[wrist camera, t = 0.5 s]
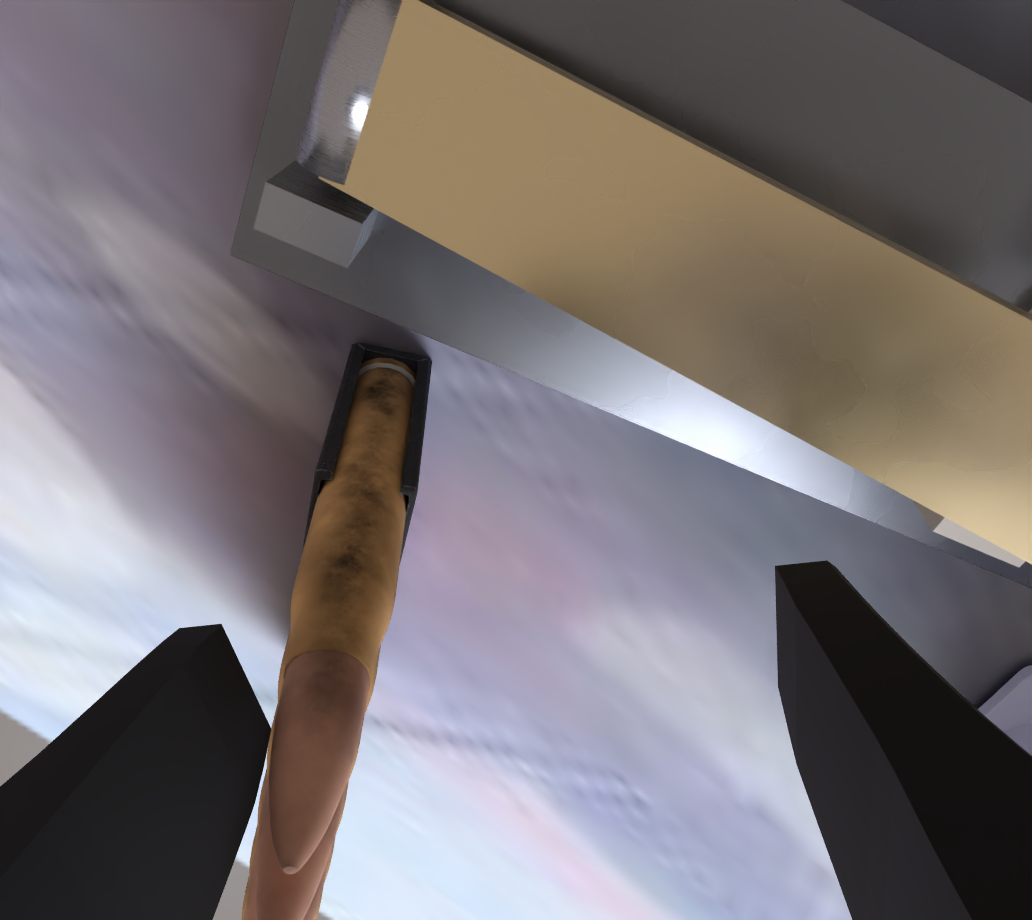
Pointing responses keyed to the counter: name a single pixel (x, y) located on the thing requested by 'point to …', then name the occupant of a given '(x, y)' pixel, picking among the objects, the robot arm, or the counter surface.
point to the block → (727, 128)
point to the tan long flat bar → (683, 256)
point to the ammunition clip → (337, 625)
